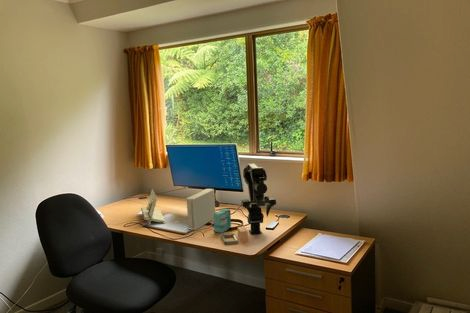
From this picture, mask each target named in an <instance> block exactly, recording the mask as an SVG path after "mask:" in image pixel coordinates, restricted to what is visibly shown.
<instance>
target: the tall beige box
mask: <svg viewBox="0 0 470 313" xmlns="http://www.w3.org/2000/svg"><path fill="white" fill-rule="evenodd" d="M248 231H249V230H248V229H247V227H245V226H237V237H238V240H239V241H240V242H241V243H243V242H248V241H249V240H248V239H249V238H248V237H249V236H248V234H249V232H248Z"/></svg>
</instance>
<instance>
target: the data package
mask: <svg viewBox="0 0 470 313" xmlns="http://www.w3.org/2000/svg"><path fill="white" fill-rule="evenodd" d="M231 213H232V212H231V210H230V209H227V208H222V209H219V210H218V211H215V213H214V219H213V227H214V230H213V231H214V233H219V234H222V233H224V232H226V231H228V230H229V228H230V229H231V227H232V219H231V218H232V217H231Z"/></svg>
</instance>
